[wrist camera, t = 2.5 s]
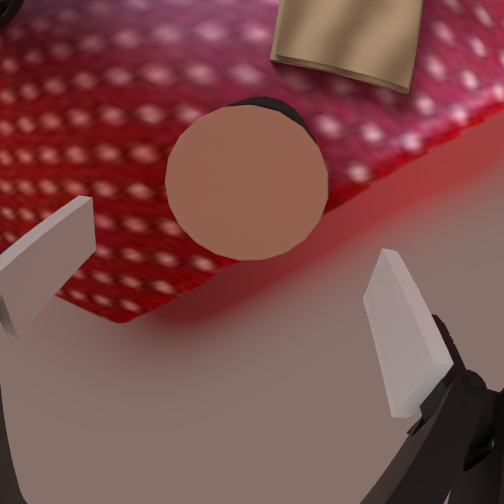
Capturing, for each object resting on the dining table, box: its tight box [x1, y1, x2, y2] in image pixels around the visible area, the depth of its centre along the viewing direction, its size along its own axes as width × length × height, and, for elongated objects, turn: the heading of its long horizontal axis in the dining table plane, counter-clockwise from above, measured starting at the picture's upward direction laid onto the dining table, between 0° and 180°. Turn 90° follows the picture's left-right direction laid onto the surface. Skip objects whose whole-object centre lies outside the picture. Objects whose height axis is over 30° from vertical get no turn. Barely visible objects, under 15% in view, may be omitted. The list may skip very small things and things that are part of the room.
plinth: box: [270, 0, 423, 94], centre depth 25 cm, size 15×15×4 cm
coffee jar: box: [165, 97, 328, 260], centre depth 28 cm, size 11×11×18 cm
